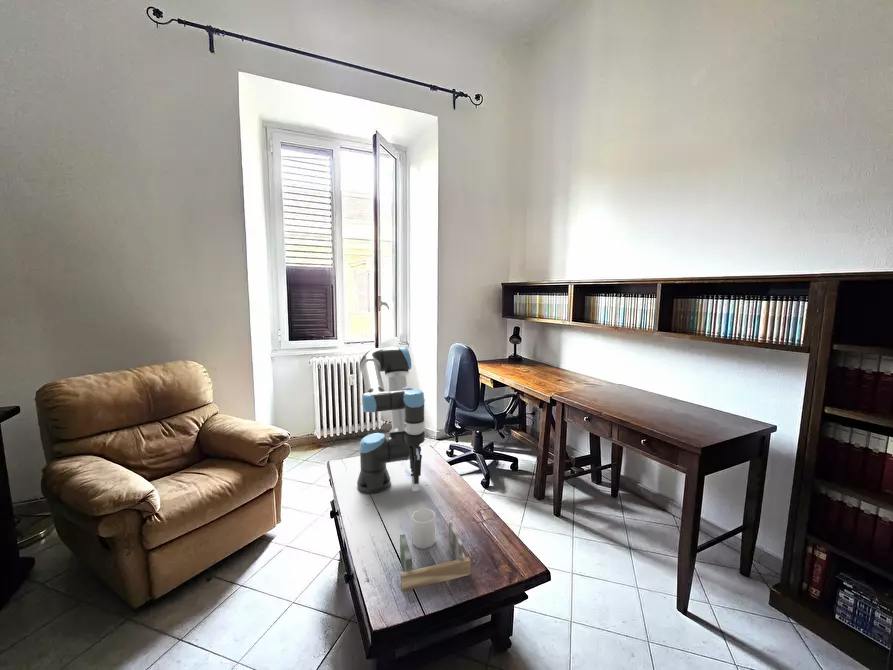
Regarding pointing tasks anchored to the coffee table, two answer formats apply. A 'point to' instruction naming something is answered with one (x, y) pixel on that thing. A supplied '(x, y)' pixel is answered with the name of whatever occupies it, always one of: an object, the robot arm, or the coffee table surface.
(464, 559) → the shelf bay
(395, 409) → the robot arm
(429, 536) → the mug
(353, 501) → the coffee table surface
